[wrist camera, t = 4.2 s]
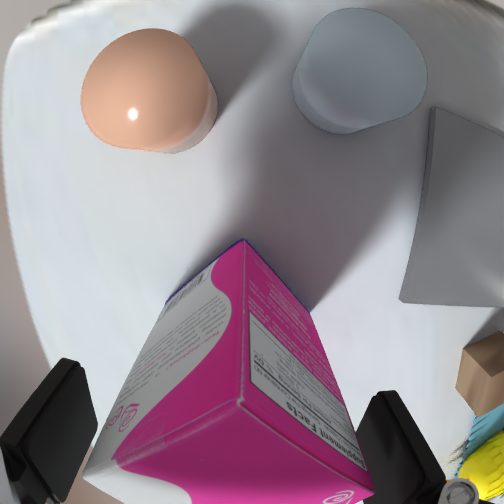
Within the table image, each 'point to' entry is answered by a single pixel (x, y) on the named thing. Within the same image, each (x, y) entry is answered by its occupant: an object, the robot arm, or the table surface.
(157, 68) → the peach dome cap
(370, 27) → the pale blue dome knob
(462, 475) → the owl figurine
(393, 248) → the table surface
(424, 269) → the coaster
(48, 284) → the table surface
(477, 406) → the walnut block
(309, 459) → the supplement box
